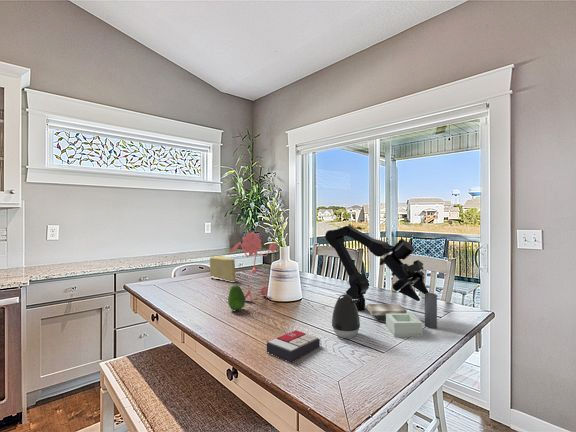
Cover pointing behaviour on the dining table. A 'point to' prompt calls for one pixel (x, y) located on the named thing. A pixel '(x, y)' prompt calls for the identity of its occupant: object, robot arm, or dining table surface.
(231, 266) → the cheese
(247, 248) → the figurine
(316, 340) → the red and grey box
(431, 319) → the dark grey block
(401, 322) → the socket stand
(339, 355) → the dining table surface
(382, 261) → the robot arm
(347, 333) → the dark egg shaped device
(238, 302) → the avocado
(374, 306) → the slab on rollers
